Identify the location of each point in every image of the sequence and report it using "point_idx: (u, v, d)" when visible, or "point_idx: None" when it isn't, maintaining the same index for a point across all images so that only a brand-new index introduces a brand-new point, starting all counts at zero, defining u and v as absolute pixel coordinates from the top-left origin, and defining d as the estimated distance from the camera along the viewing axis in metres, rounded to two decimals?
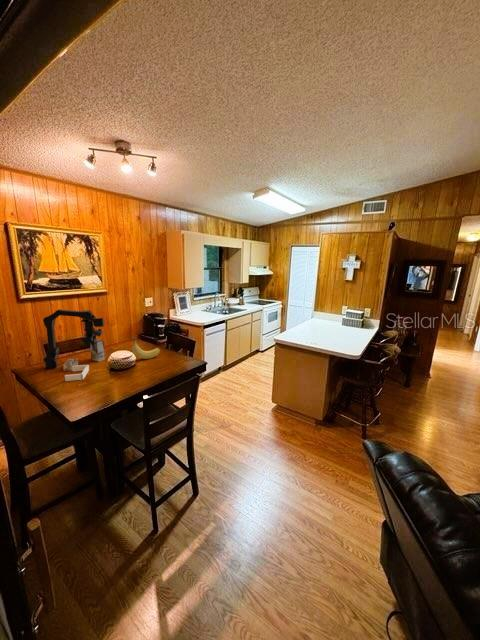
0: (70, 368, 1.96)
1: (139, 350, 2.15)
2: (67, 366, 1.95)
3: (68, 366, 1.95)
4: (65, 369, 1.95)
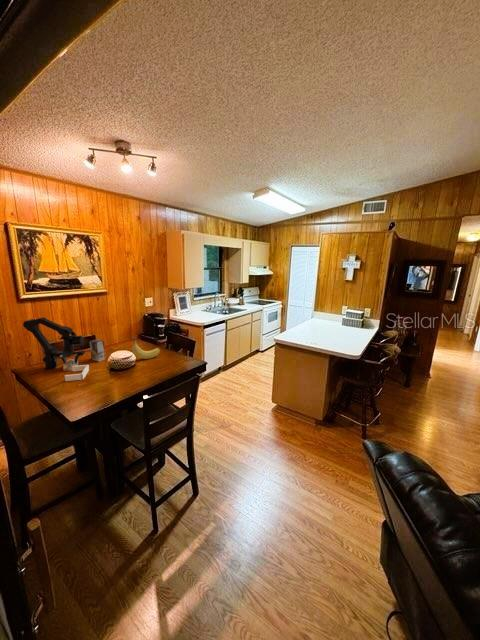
0: (70, 368, 1.96)
1: (139, 350, 2.15)
2: (67, 366, 1.95)
3: (68, 366, 1.95)
4: (65, 369, 1.95)
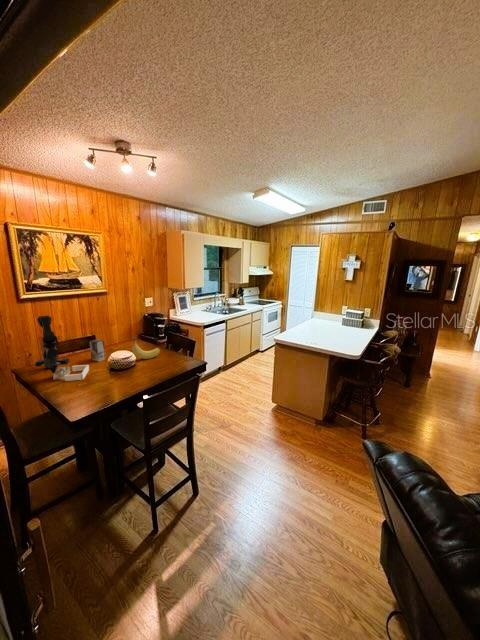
0: (61, 377, 1.80)
1: (139, 350, 2.15)
2: (57, 375, 1.79)
3: (58, 375, 1.80)
4: (55, 379, 1.80)
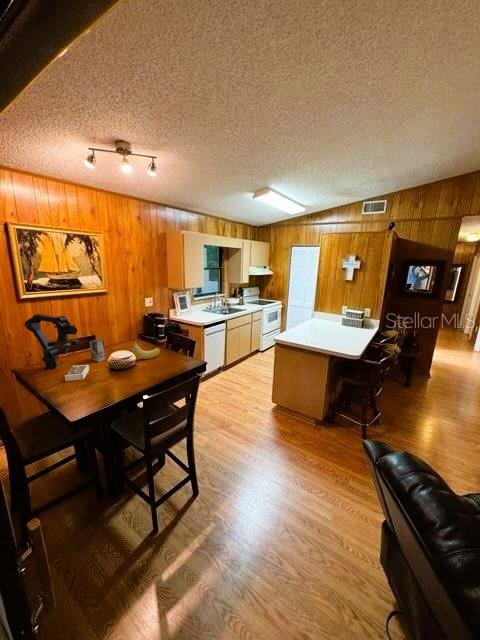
0: None
1: (139, 350, 2.15)
2: (72, 374, 1.82)
3: None
4: None
